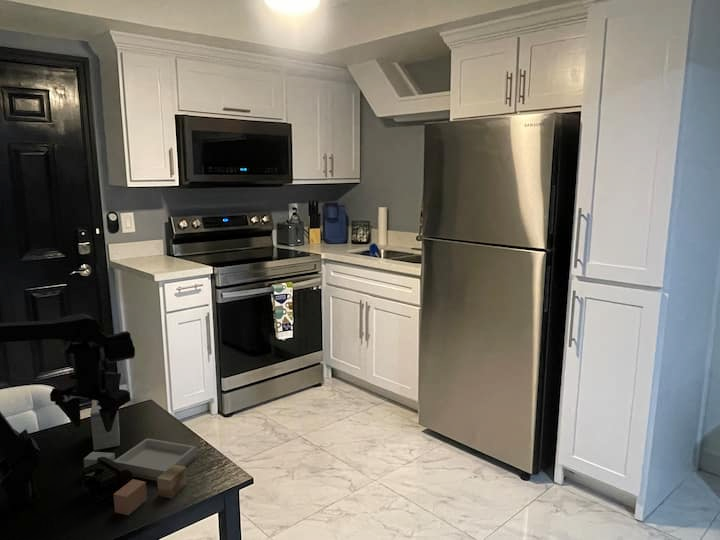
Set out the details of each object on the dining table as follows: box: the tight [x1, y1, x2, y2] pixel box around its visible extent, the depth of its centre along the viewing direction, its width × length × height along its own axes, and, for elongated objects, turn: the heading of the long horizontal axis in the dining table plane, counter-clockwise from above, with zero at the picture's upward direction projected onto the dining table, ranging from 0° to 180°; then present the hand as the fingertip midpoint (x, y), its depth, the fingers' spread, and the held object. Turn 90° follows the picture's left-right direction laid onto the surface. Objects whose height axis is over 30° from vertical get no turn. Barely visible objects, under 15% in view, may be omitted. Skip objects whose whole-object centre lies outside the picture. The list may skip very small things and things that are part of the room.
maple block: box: [156, 465, 188, 499], centre depth 123 cm, size 6×4×4 cm, turn 162°
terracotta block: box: [113, 478, 148, 516], centre depth 117 cm, size 6×4×4 cm, turn 163°
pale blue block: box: [83, 451, 116, 477], centre depth 130 cm, size 6×4×4 cm, turn 82°
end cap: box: [81, 457, 134, 506], centre depth 122 cm, size 10×7×7 cm
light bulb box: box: [89, 400, 121, 451], centre depth 146 cm, size 11×7×11 cm, turn 25°
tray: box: [114, 438, 198, 482], centre depth 134 cm, size 12×15×3 cm
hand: (93, 429), depth 127 cm, fingers open, 9 cm apart
